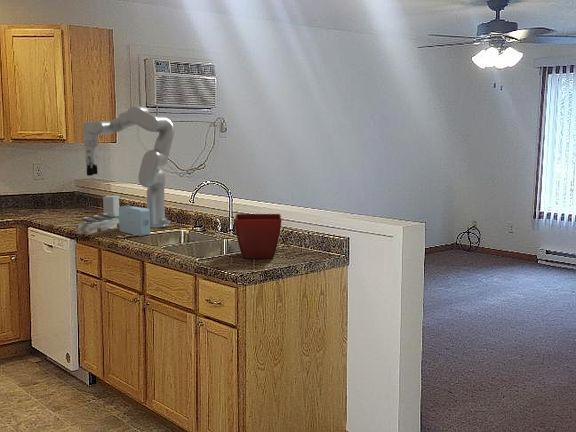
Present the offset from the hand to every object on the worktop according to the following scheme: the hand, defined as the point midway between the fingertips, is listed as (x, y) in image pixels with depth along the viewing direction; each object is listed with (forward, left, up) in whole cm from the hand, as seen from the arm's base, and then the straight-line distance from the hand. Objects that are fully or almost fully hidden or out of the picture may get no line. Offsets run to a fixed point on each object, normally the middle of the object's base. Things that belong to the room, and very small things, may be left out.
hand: (92, 174), depth 387 cm
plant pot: (-129, +52, -28) cm, 141 cm away
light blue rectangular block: (-42, +19, -28) cm, 54 cm away
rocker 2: (-19, +20, -22) cm, 35 cm away
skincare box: (-9, -4, -28) cm, 30 cm away
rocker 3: (-19, +12, -22) cm, 32 cm away
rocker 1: (-19, +28, -22) cm, 40 cm away
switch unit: (-21, +20, -28) cm, 40 cm away
